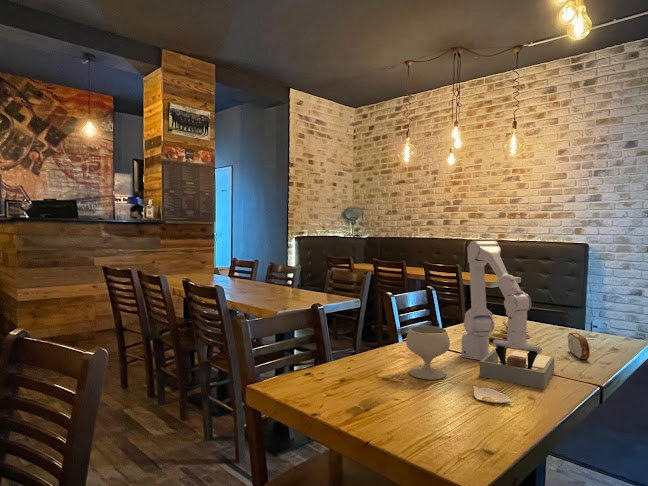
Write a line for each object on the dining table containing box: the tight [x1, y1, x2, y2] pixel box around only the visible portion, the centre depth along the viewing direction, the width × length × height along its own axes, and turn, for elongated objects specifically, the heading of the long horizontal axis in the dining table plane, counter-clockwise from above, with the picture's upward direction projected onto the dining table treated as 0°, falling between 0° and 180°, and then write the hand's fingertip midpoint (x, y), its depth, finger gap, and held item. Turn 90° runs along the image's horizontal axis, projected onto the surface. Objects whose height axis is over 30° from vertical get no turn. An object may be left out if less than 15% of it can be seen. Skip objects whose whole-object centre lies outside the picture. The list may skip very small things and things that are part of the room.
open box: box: [479, 347, 555, 390], centre depth 141 cm, size 19×20×5 cm
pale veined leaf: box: [473, 385, 514, 404], centre depth 120 cm, size 8×12×2 cm, turn 42°
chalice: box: [405, 325, 451, 381], centre depth 140 cm, size 14×14×15 cm
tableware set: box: [489, 321, 531, 346], centre depth 189 cm, size 30×20×6 cm, turn 137°
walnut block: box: [506, 354, 527, 369], centre depth 140 cm, size 5×5×6 cm
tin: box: [567, 332, 591, 360], centre depth 163 cm, size 15×3×8 cm, turn 168°
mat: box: [506, 350, 552, 370], centre depth 157 cm, size 14×16×1 cm
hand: (516, 371), depth 140 cm, fingers open, 7 cm apart
